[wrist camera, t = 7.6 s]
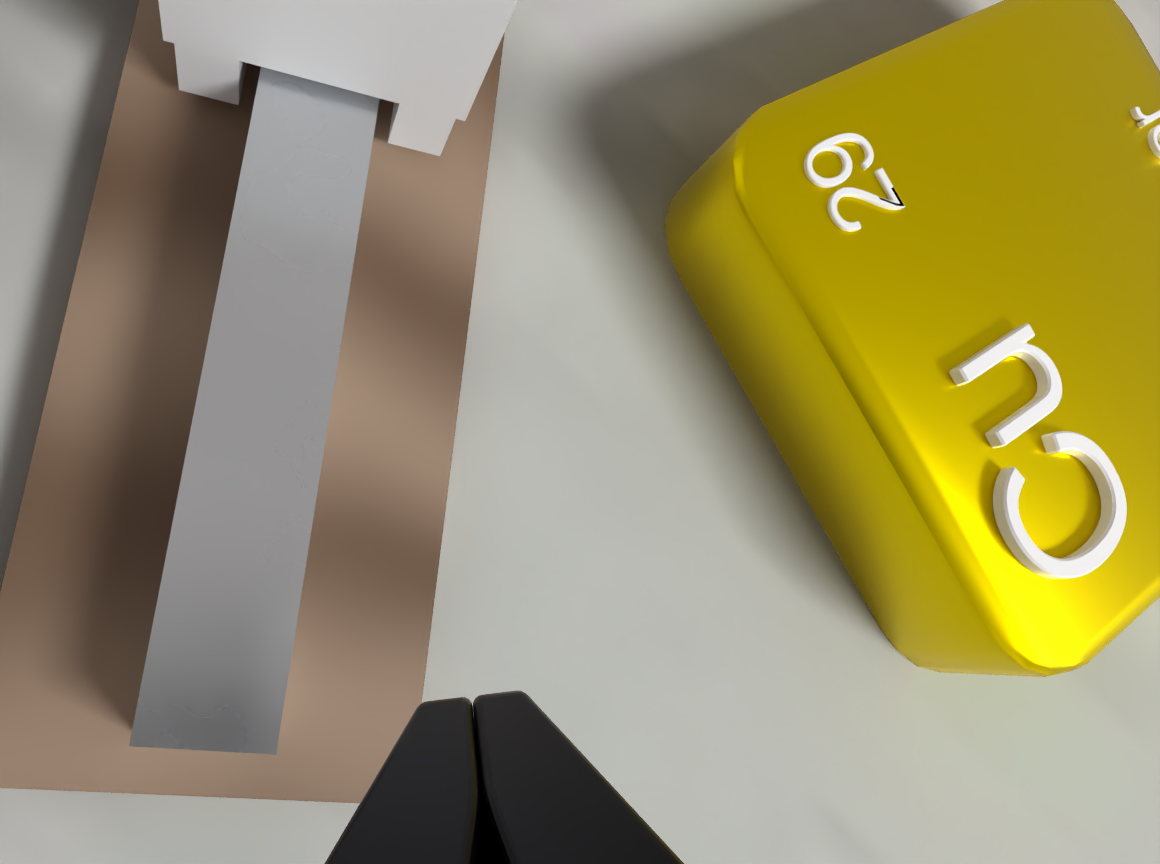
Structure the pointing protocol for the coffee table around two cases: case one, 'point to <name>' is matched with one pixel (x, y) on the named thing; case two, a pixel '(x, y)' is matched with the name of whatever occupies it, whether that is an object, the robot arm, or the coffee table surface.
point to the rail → (259, 426)
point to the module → (346, 52)
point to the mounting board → (160, 437)
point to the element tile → (958, 325)
